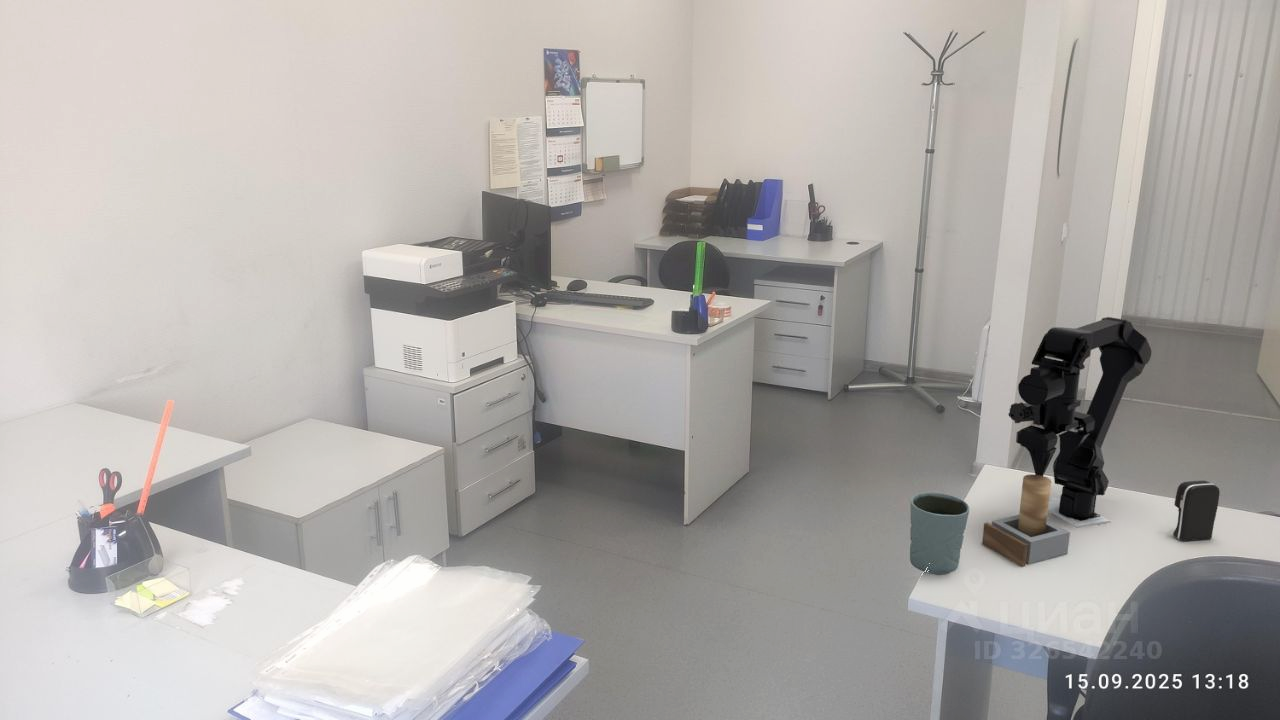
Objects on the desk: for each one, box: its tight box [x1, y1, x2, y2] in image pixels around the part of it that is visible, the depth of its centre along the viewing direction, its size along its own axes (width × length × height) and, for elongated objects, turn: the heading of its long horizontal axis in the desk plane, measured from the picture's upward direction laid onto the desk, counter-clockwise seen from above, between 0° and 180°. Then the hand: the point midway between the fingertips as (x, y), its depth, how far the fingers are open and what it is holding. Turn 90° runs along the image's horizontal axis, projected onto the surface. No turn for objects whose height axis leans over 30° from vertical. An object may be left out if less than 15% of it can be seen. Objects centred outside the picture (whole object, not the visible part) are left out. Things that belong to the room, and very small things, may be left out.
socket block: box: [991, 514, 1071, 565], centre depth 168 cm, size 10×10×4 cm
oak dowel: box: [1018, 474, 1052, 537], centre depth 167 cm, size 5×5×13 cm
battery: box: [1173, 480, 1221, 542], centre depth 172 cm, size 7×4×11 cm, turn 98°
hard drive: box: [1048, 496, 1112, 528], centre depth 184 cm, size 2×8×12 cm
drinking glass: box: [909, 492, 970, 575], centre depth 163 cm, size 10×10×12 cm
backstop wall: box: [981, 522, 1028, 568], centre depth 166 cm, size 1×10×4 cm, turn 23°
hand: (1051, 471), depth 172 cm, fingers open, 9 cm apart
